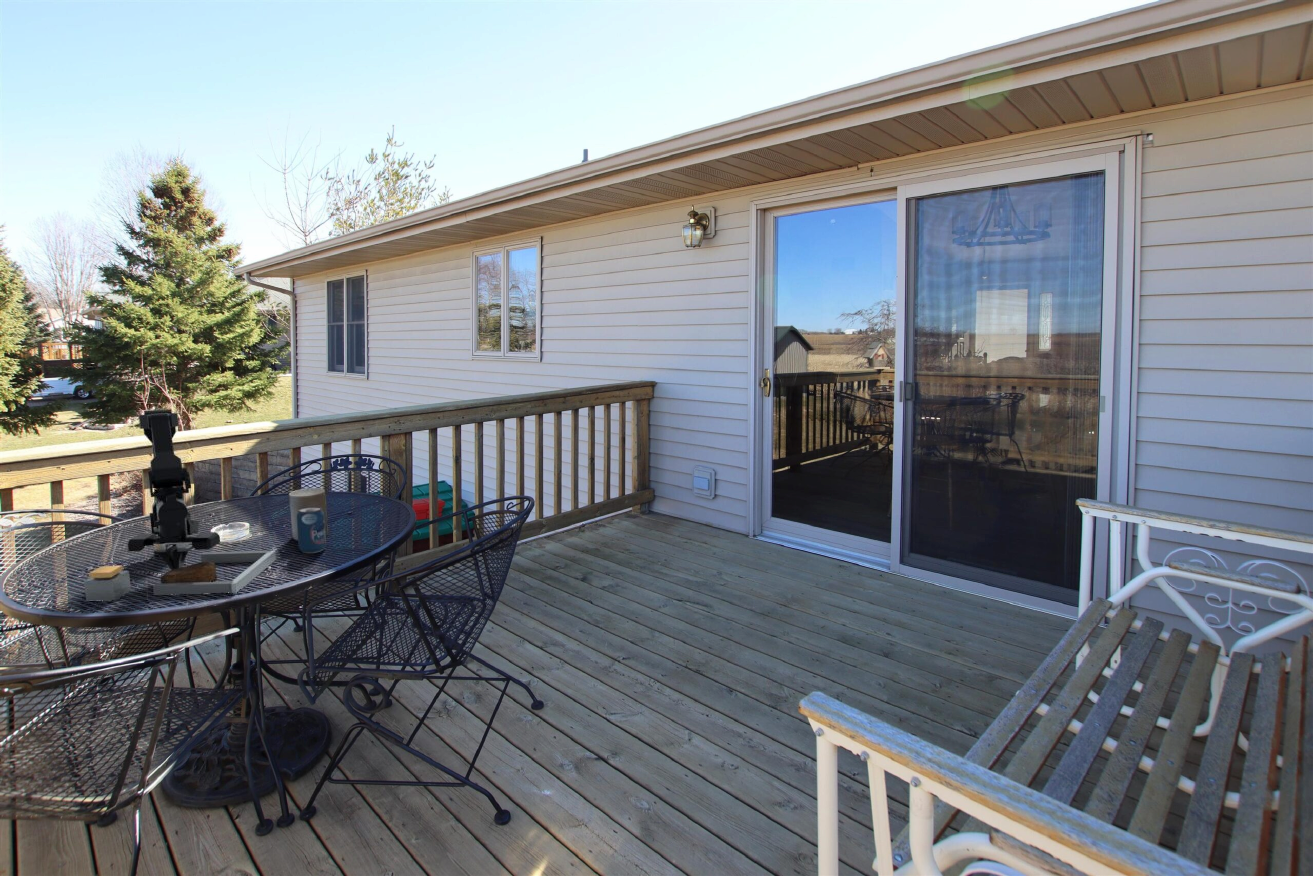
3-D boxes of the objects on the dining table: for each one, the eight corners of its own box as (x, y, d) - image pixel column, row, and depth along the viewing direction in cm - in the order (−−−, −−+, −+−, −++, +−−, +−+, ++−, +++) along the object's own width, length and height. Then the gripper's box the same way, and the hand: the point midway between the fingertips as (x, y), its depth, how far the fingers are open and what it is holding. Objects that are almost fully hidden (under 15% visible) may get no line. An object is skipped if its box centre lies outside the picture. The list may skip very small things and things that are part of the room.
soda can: (318, 554, 192) (316, 512, 190) (294, 553, 192) (291, 512, 190) (330, 546, 199) (328, 505, 197) (307, 545, 199) (304, 505, 197)
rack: (204, 561, 185) (203, 552, 185) (276, 559, 188) (275, 550, 187) (154, 596, 162) (152, 586, 162) (236, 593, 165) (235, 583, 164)
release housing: (103, 591, 164) (100, 571, 163) (131, 590, 165) (128, 571, 164) (86, 602, 158) (83, 581, 157) (115, 601, 159) (112, 580, 158)
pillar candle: (335, 532, 212) (331, 484, 209) (316, 542, 202) (312, 492, 200) (305, 530, 213) (301, 483, 210) (285, 540, 203) (280, 491, 201)
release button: (104, 587, 163) (101, 566, 162) (124, 586, 164) (122, 565, 163) (91, 594, 159) (89, 573, 158) (112, 593, 160) (110, 572, 159)
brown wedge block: (210, 577, 175) (208, 559, 174) (217, 581, 172) (215, 563, 172) (161, 590, 166) (159, 571, 165) (168, 594, 164) (166, 575, 163)
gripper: (227, 504, 180) (232, 561, 183) (148, 506, 177) (154, 564, 180) (206, 517, 169) (212, 577, 172) (122, 518, 166) (129, 580, 169)
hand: (177, 574), depth 174 cm, fingers closed
